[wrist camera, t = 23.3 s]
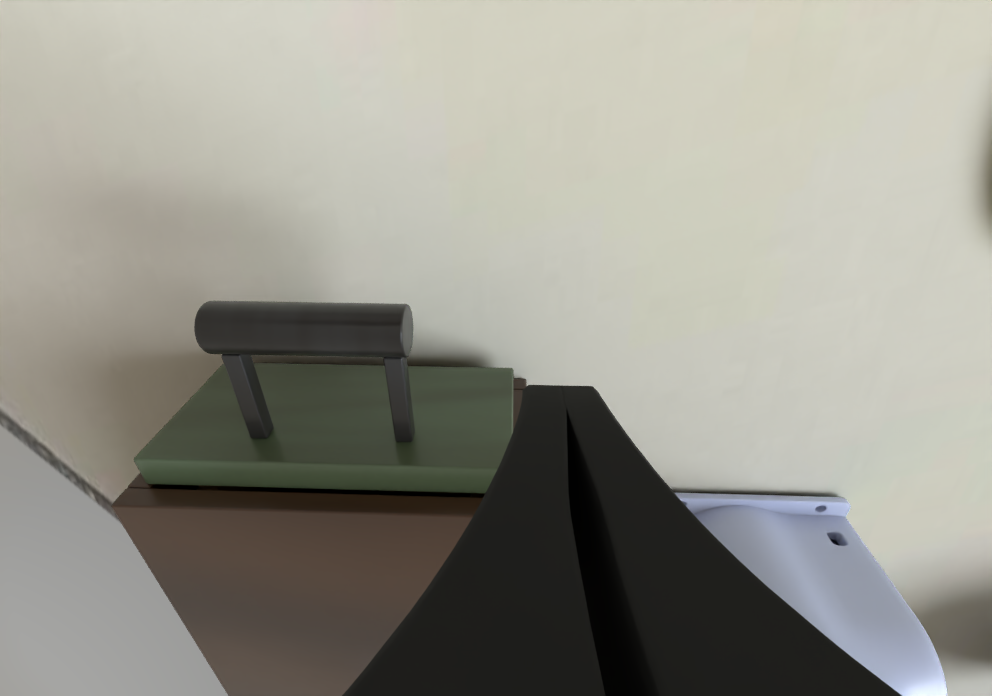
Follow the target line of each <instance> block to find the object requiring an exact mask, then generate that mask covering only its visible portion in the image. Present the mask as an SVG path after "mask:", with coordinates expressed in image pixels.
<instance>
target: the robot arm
mask: <svg viewBox="0 0 992 696" xmlns="http://www.w3.org/2000/svg"><path fill="white" fill-rule="evenodd" d="M850 507H851V506H850V504H849V502H848V501H847V500H846V499H845V498H842V497H817V496H780V495H744V494H707V493H674V492H673V491H672V490H671V489H670V488H669V486H668V485H667V484H666V483H665V482H664V480H663V479H662V478H661V477H660V476H659V474H658V473H657V472H656V471H655V470H654V468H653V467H652V466H651V465H650V463H649V462H648V461H647V460H646V458H645V457H644V456H643V455H642V453H641V452H640V451H639V449H638V448H637V447H636V446H635V444H634V443H633V442H632V440H631V439H630V438H629V436H628V435H627V434H626V432H625V431H624V430H623V428H622V427H621V425H620V424H619V423H618V421H617V420H616V418H615V417H614V415H613V414H612V413H611V411H610V410H609V408H608V407H607V405H606V404H605V402H604V401H603V399H602V398H601V396H600V394H599V393H598V391H597V390H596V389H595V388H594V387H593V386H550V385H528V386H527V387H526V388H524V389H523V390H522V402H521V407H520V411H519V415H518V418H517V421H516V424H515V428H514V431H513V433H512V436H511V438H510V441H509V443H508V446H507V448H506V451H505V453H504V456H503V458H502V461H501V463H500V465H499V467H498V469H497V471H496V473H495V475H494V477H493V479H492V481H491V483H490V485H489V487H488V489H487V491H486V493H485V495H484V497H483V499H482V501H481V503H480V505H479V507H478V508H477V510H476V512H475V514H474V516H473V517H472V519H471V521H470V522H469V524H468V526H467V528H466V529H465V531H464V532H463V534H462V536H461V537H460V539H459V541H458V542H457V544H456V545H455V547H454V549H453V550H452V552H451V553H450V555H449V556H448V558H447V559H446V561H445V562H444V564H443V565H442V567H441V568H440V570H439V571H438V572H437V574H436V575H435V577H434V578H433V580H432V581H431V583H430V584H429V586H428V587H427V589H426V590H425V591H424V593H423V594H422V596H421V597H420V598H419V600H418V601H417V603H416V604H415V605H414V607H413V608H412V609H411V611H410V612H409V613H408V615H407V616H406V617H405V618H404V620H403V621H402V622H401V623H400V625H399V626H398V627H397V629H396V630H395V631H394V632H393V634H392V635H391V636H390V637H389V639H388V640H387V641H386V642H385V644H384V645H383V646H382V648H381V649H380V650H379V651H378V653H377V654H376V655H375V656H374V658H373V659H372V660H371V662H370V663H369V664H368V665H367V667H366V668H365V669H364V670H363V672H362V673H361V674H360V675H359V676H358V678H357V679H356V680H355V681H354V682H353V684H352V685H351V686H350V687H349V688H348V690H347V691H346V692H345V693H344V694H343V695H342V696H947V686H946V681H945V677H944V673H943V670H942V667H941V664H940V661H939V658H938V655H937V653H936V651H935V648H934V646H933V644H932V642H931V640H930V638H929V636H928V634H927V632H926V630H925V629H924V627H923V626H922V624H921V623H920V621H919V620H918V618H917V617H916V615H915V614H914V613H913V611H912V610H911V608H910V607H909V606H908V604H907V603H906V601H905V600H904V599H903V597H902V596H901V594H900V593H899V592H898V590H897V589H896V587H895V586H894V584H893V583H892V582H891V580H890V579H889V577H888V576H887V575H886V573H885V572H884V570H883V569H882V568H881V566H880V565H879V563H878V562H877V561H876V559H875V558H874V556H873V555H872V554H871V552H870V551H869V549H868V548H867V547H866V545H865V544H864V542H863V541H862V540H861V538H860V537H859V535H858V534H857V533H856V531H855V530H854V528H853V527H852V526H851V524H850V523H849V521H848V520H847V518H846V515H847V514H848V512H849V510H850Z"/></svg>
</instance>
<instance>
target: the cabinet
mask: <svg viewBox="0 0 992 696" xmlns="http://www.w3.org/2000/svg"><path fill="white" fill-rule="evenodd" d="M526 387H527V384H526V379H513V431H514V428H515V424H516V421H517V418H518V415H519V411H520V407H521V402H522V390H523V389H524V388H526ZM198 487H199V485H166V484H147V483H146V482H145V480H144V478H143V476H142V474H141V473H140V474H139V475H138V476H137V477H136V478H135V479H134V480H133V481H132V483H131V484H130V485H129V486H128V488H127V489H125V490H124V492H123V493H122V494H121V495H120V496H119V497H118V498H117V499H116V500H115V502H114V503H113V504H112V505H111V507H112V509H113V510H114V512H115V514H116V515H117V517H118V518H119V520H120V522H121V523H122V525H123V527H124V528H125V529H126V531H127V533H128V534H129V536H130V538H131V539H132V541H133V543H134V544H135V546H136V547H137V549H138V550H139V552H140V554H141V556H142V557H143V559H144V560H145V562H146V563H147V565H148V567H149V568H150V570H151V572H152V573H153V575H154V576H155V578H156V580H157V581H158V583H159V584H160V586H161V588H162V589H163V591H164V592H165V594H166V596H167V597H168V599H169V601H170V602H171V604H172V605H173V607H174V609H175V610H176V612H177V613H178V615H179V617H180V618H181V620H182V622H183V623H184V625H185V626H186V628H187V630H188V631H189V633H190V634H191V636H192V638H193V639H194V641H195V642H196V644H197V646H198V647H199V649H200V650H201V652H202V654H203V655H204V657H205V658H206V660H207V662H208V663H209V665H210V666H211V668H212V670H213V671H214V673H215V674H216V676H217V678H218V680H219V681H220V683H221V684H222V686H223V688H224V689H225V691H226V692H227V694H228V696H342V695H343V694H344V693H345V692H346V691H347V690H348V688H349V687H350V686H351V685H352V684H353V682H354V681H355V680H356V679H357V678H358V676H359V675H360V674H361V673H362V672H363V670H364V669H365V668H366V667H367V665H368V664H369V663H370V662H371V660H372V659H373V658H374V656H375V655H376V654H377V653H378V651H379V650H380V649H381V648H382V646H383V645H384V644H385V642H386V641H387V640H388V639H389V637H390V636H391V635H392V634H393V632H394V631H395V630H396V629H397V627H398V626H399V625H400V623H401V622H402V621H403V620H404V618H405V617H406V616H407V615H408V613H409V612H410V611H411V609H412V608H413V607H414V605H415V604H416V603H417V601H418V600H419V598H420V597H421V596H422V594H423V593H424V591H425V590H426V589H427V587H428V586H429V584H430V583H431V581H432V580H433V578H434V577H435V575H436V574H437V572H438V571H439V570H440V568H441V567H442V565H443V564H444V562H445V561H446V559H447V558H448V556H449V555H450V553H451V552H452V550H453V549H454V547H455V545H456V544H457V542H458V541H459V539H460V537H461V536H462V534H463V532H464V531H465V529H466V528H467V526H468V524H469V522H470V521H471V519H472V517H473V516H474V514H475V512H476V510H477V508H478V507H479V505H480V503H481V501H482V499H483V498H473V497H437V496H402V495H366V494H331V493H295V492H259V491H224V490H196V489H197V488H198Z"/></svg>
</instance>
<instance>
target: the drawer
mask: <svg viewBox="0 0 992 696" xmlns="http://www.w3.org/2000/svg"><path fill="white" fill-rule="evenodd" d="M194 328H195V336H196V339H197V342H198V344H199V346H200V347H201V348H202V349H203V350H204V351H205V352H207V353H210V354H222V359H223V362H224V364H223V365H222V366H221V367H220V368H219V369H218V370H217V371H216V372H215V373H214V374H213V375H212V376H211V377H210V378H209V380H208V381H207V382H206V383H205V384H204V385H203V386H202V387H201V388H200V389H199V390H198V391H197V392H196V393H195V394H194V395H193V396H192V398H191V399H190V400H189V401H188V402H187V403H186V404H185V405H184V406H183V407H182V408H181V409H180V410H179V411H178V412H177V413H176V414H175V415H174V417H173V418H172V419H171V420H170V421H169V422H168V423H167V424H166V425H165V426H164V427H163V428H162V429H161V430H160V431H159V432H158V433H157V435H156V436H155V437H154V438H153V439H152V440H151V441H150V442H149V443H148V444H147V445H146V446H145V447H144V448H143V449H142V450H141V451H140V453H139V454H138V455H137V456H136V457H135V458H134V462H135V463H136V465H137V467H138V469H139V471H140V473H141V474H142V476H143V478H144V480H145V482H146V483H147V484H166V485H199V487H198V488H197V489H196V490H224V491H259V492H275V491H276V490H277V488H310V489H346V490H379V494H378V495H402V496H437V497H473V498H483V497H484V495H485V493H486V491H487V489H488V487H489V485H490V483H491V481H492V479H493V477H494V475H495V473H496V471H497V469H498V467H499V465H500V463H501V461H502V458H503V456H504V453H505V451H506V448H507V446H508V443H509V441H510V438H511V436H512V433H513V369H512V368H479V367H428V366H408V365H407V357H408V356H409V354H410V352H411V348H412V342H413V318H412V312H411V309H410V306H409V305H407V304H376V303H313V302H250V301H208V302H206V303H204V304H203V305H202V306H201V307H200V308H199V310H198V312H197V315H196V318H195V326H194ZM251 355H296V356H347V357H384V359H383V360H384V366H378V365H328V364H277V363H253V360H252V357H251Z"/></svg>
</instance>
